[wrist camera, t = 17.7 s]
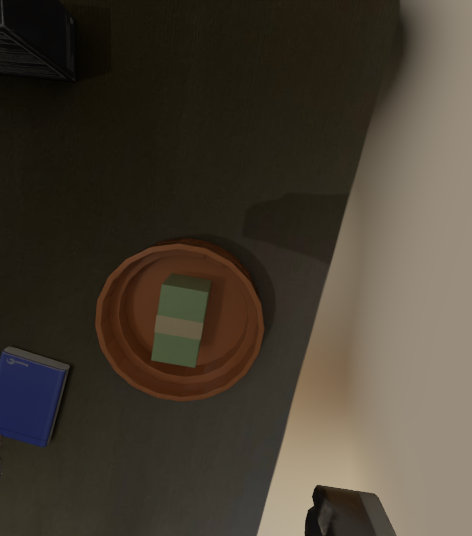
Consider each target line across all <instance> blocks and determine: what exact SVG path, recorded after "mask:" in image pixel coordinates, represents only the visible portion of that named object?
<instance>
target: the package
mask: <svg viewBox="0 0 472 536" xmlns="http://www.w3.org/2000/svg"><path fill="white" fill-rule="evenodd" d="M211 284H212V280H207V279H202V278H196V277H191V276H185V275H180V274H174V273H171V274H170V275H169V277H168V278H167V279H166V280H165V281H164V282H163V283H162V285H161V292H160V299H159V307H158V314H157V316H156V323H155V330H154V332H155V335H154V342H153V350H152V357H151V360H152V361H158V362H164V363H170V364H176V365H181V366H187V367H193V368H195V367H196V363H197V359H198V354H199V350H200V346H201V340H202V335H203V329H204V324H205V318H206V312H207V307H208V301H209V295H210V290H211Z"/></svg>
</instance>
